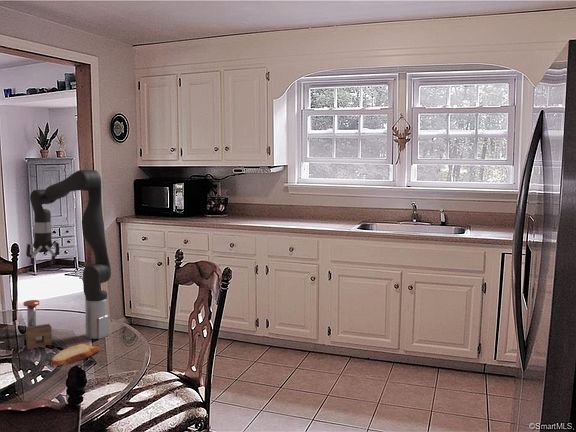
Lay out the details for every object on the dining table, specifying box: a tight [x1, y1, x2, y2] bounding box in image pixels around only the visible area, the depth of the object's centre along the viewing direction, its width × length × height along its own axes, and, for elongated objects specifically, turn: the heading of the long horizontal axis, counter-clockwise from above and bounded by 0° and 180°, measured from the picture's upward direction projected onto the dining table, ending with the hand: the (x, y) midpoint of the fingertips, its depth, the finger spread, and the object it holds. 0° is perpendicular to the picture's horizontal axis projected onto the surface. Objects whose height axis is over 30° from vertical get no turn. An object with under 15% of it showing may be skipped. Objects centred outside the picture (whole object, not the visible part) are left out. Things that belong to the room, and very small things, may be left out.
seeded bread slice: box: [50, 343, 101, 365], centre depth 210 cm, size 18×18×4 cm
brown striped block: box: [25, 323, 53, 351], centre depth 219 cm, size 5×9×8 cm, turn 125°
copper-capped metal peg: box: [23, 299, 40, 327], centre depth 230 cm, size 14×6×14 cm, turn 35°
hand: (43, 264), depth 248 cm, fingers open, 8 cm apart
